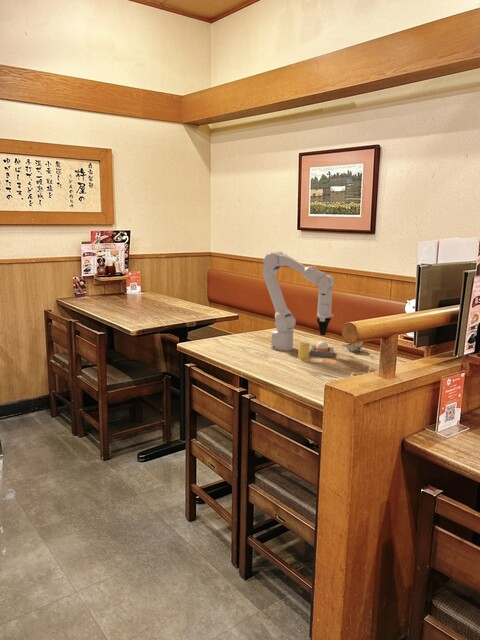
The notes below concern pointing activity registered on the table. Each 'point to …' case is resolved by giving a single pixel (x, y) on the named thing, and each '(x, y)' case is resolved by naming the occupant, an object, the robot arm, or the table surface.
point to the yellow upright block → (303, 351)
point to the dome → (322, 346)
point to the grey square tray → (321, 352)
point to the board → (321, 361)
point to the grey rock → (354, 346)
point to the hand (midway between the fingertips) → (322, 334)
